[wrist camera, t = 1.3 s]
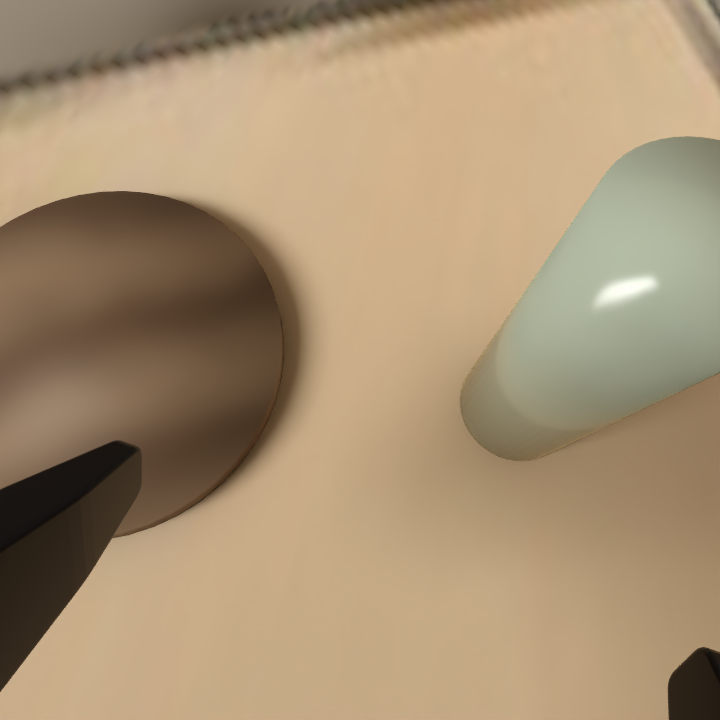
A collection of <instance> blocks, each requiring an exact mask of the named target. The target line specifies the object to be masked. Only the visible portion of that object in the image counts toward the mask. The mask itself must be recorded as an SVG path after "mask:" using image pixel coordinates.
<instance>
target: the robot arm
mask: <svg viewBox="0 0 720 720" xmlns="http://www.w3.org/2000/svg"><path fill="white" fill-rule="evenodd" d="M141 486H142V451H141V449H140V448H139V447H138V446H135V445H133V444H130V443H127V442H124V441H121V440H116V441H112V442H109V443H107V444H105V445H102V446H100V447H98V448H95V449H93V450H91V451H88V452H86V453H84V454H81V455H79V456H77V457H74V458H72V459H69V460H67V461H65V462H62V463H60V464H58V465H55V466H53V467H51V468H48V469H46V470H44V471H41V472H39V473H37V474H34V475H32V476H30V477H27V478H25V479H23V480H20V481H18V482H16V483H13V484H11V485H9V486H6V487H4V488H2V489H0V692H1V690H2V689H3V688H4V687H5V685H6V684H7V683H8V681H9V680H10V679H11V677H12V676H13V675H14V673H15V672H16V671H17V670H18V668H19V667H20V666H21V664H22V663H23V662H24V660H25V659H26V658H27V656H28V655H29V654H30V653H31V651H32V650H33V649H34V647H35V646H36V645H37V643H38V642H39V641H40V640H41V638H42V637H43V636H44V634H45V633H46V632H47V630H48V629H49V628H50V626H51V625H52V624H53V623H54V621H55V620H56V619H57V617H58V616H59V615H60V613H61V612H62V611H63V609H64V608H65V607H66V606H67V604H68V603H69V602H70V600H71V599H72V598H73V596H74V595H75V594H76V592H77V591H78V590H79V588H80V587H81V586H82V584H83V583H84V582H85V580H86V579H87V577H88V576H89V574H90V573H91V571H92V570H93V568H94V566H95V565H96V563H97V562H98V560H99V558H100V557H101V555H102V553H103V552H104V550H105V549H106V547H107V545H108V544H109V542H110V540H111V539H112V537H113V536H114V534H115V532H116V531H117V529H118V527H119V526H120V524H121V522H122V521H123V519H124V518H125V516H126V514H127V513H128V511H129V509H130V508H131V506H132V505H133V503H134V501H135V500H136V498H137V496H138V494H139V492H140V489H141ZM668 709H669V720H720V652H718V651H715V650H712V649H709V648H705V647H702V648H698V649H697V650H695V651H694V652H693V653H692V654H691V655H690V656H689V657H688V658H687V659H686V660H685V661H684V662H683V663H682V664H681V665H680V666H679V667H678V668H677V669H676V670H675V671H674V672H673V673H672V675H671V677H670V679H669V683H668Z"/></svg>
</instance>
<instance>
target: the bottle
mask: <svg viewBox="0 0 720 720" xmlns="http://www.w3.org/2000/svg"><path fill="white" fill-rule="evenodd" d="M718 373H720V140H715V139H710V138H703V137H672V138H666V139H660V140H656V141H653V142H649V143H646V144H644V145H642V146H639V147H637V148H635V149H633V150H632V151H630V152H628V153H627V154H625V155H624V156H622V157H621V158H620V159H619V160H618V161H616V162H615V163H614V164H613V165H612V166H611V168H610V169H609V170H608V171H607V172H606V174H605V175H604V177H603V178H602V179H601V181H600V182H599V184H598V185H597V187H596V188H595V190H594V191H593V193H592V194H591V196H590V197H589V198H588V200H587V201H586V203H585V204H584V206H583V207H582V209H581V210H580V212H579V213H578V215H577V216H576V218H575V219H574V220H573V222H572V223H571V225H570V226H569V228H568V229H567V231H566V232H565V234H564V235H563V237H562V238H561V239H560V241H559V242H558V244H557V245H556V247H555V248H554V250H553V251H552V253H551V254H550V256H549V257H548V258H547V260H546V261H545V263H544V264H543V266H542V267H541V269H540V270H539V272H538V273H537V275H536V276H535V277H534V279H533V280H532V282H531V283H530V285H529V286H528V288H527V289H526V291H525V292H524V294H523V295H522V296H521V298H520V299H519V301H518V302H517V304H516V305H515V307H514V308H513V310H512V311H511V313H510V314H509V315H508V317H507V318H506V320H505V321H504V323H503V324H502V326H501V327H500V329H499V330H498V332H497V333H496V334H495V336H494V337H493V339H492V340H491V342H490V343H489V345H488V346H487V348H486V349H485V351H484V352H483V354H482V355H481V356H480V358H479V359H478V361H477V362H476V364H475V365H474V367H473V368H472V370H471V371H470V373H469V374H468V376H467V377H466V379H465V381H464V384H463V387H462V390H461V397H460V405H461V412H462V416H463V419H464V422H465V424H466V427H467V428H468V430H469V432H470V433H471V435H472V436H473V437H474V439H475V440H476V441H477V442H478V443H479V444H480V445H481V446H483V447H484V448H485V449H486V450H488V451H489V452H491V453H493V454H495V455H497V456H499V457H502V458H505V459H509V460H515V461H529V460H534V459H538V458H541V457H543V456H545V455H547V454H550V453H552V452H554V451H556V450H558V449H560V448H562V447H564V446H566V445H568V444H571V443H573V442H575V441H577V440H579V439H581V438H583V437H585V436H587V435H590V434H592V433H594V432H596V431H598V430H600V429H602V428H604V427H606V426H608V425H611V424H613V423H615V422H617V421H619V420H621V419H623V418H625V417H627V416H630V415H632V414H634V413H636V412H638V411H640V410H642V409H644V408H646V407H648V406H651V405H653V404H655V403H657V402H659V401H661V400H663V399H665V398H667V397H669V396H672V395H674V394H676V393H678V392H680V391H682V390H684V389H686V388H688V387H691V386H693V385H695V384H697V383H699V382H701V381H703V380H705V379H707V378H709V377H712V376H714V375H716V374H718Z"/></svg>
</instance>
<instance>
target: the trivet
mask: <svg viewBox="0 0 720 720" xmlns="http://www.w3.org/2000/svg"><path fill="white" fill-rule="evenodd" d="M283 360H284V343H283V331H282V325H281V318H280V314H279V311H278V308H277V304H276V301H275V298H274V295H273V291H272V288H271V285H270V283H269V281H268V279H267V277H266V275H265V273H264V271H263V268H262V267H261V265H260V264H259V262H258V261H257V259H256V258H255V256H254V255H253V253H252V252H251V250H250V249H249V248H248V247H247V246H246V245H245V244H244V243H243V241H242V240H241V239H240V238H239V237H238V236H237V235H236V234H235V233H234V232H232V231H231V230H230V229H229V228H228V227H226V226H225V225H224V224H223V223H222V222H220V221H218V220H217V219H215V218H214V217H212V216H210V215H209V214H207V213H206V212H204V211H202V210H200V209H197V208H195V207H193V206H191V205H189V204H187V203H184V202H181V201H178V200H174V199H171V198H168V197H164V196H159V195H154V194H149V193H141V192H128V191H114V192H98V193H91V194H84V195H78V196H74V197H70V198H66V199H62V200H58V201H55V202H52V203H49V204H47V205H44V206H41V207H38V208H36V209H33V210H31V211H29V212H27V213H25V214H23V215H21V216H19V217H17V218H15V219H13V220H11V221H10V222H8V223H6V224H5V225H3V226H2V227H0V489H2V488H4V487H6V486H9V485H11V484H13V483H16V482H18V481H20V480H23V479H25V478H27V477H30V476H32V475H34V474H37V473H39V472H41V471H44V470H46V469H48V468H51V467H53V466H55V465H58V464H60V463H62V462H65V461H67V460H69V459H72V458H74V457H77V456H79V455H81V454H84V453H86V452H88V451H91V450H93V449H95V448H98V447H100V446H102V445H105V444H107V443H109V442H112V441H116V440H121V441H124V442H127V443H130V444H133V445H135V446H138V447H139V448H140V449H141V451H142V486H141V489H140V492H139V494H138V496H137V498H136V500H135V501H134V503H133V505H132V506H131V508H130V509H129V511H128V513H127V514H126V516H125V518H124V519H123V521H122V522H121V524H120V526H119V527H118V529H117V531H116V532H115V534H114V536H113V537H112V538H116V537H121V536H126V535H130V534H133V533H136V532H139V531H142V530H145V529H148V528H151V527H154V526H156V525H158V524H160V523H163V522H165V521H167V520H169V519H171V518H173V517H175V516H177V515H179V514H181V513H182V512H184V511H185V510H187V509H189V508H190V507H192V506H193V505H195V504H196V503H198V502H200V501H201V500H202V499H204V498H205V497H206V496H207V495H208V494H210V493H211V492H212V491H213V490H215V489H216V488H217V487H218V486H219V485H221V484H222V483H223V482H224V481H225V480H226V478H227V477H228V476H229V475H230V474H231V473H232V472H233V471H234V470H235V469H236V468H237V467H238V466H239V465H240V463H241V462H242V461H243V459H244V458H245V457H246V455H247V454H248V453H249V451H250V450H251V449H252V447H253V446H254V444H255V443H256V441H257V439H258V438H259V436H260V434H261V432H262V431H263V429H264V427H265V425H266V423H267V421H268V418H269V416H270V413H271V411H272V409H273V406H274V404H275V401H276V397H277V393H278V390H279V386H280V382H281V376H282V368H283Z"/></svg>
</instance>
